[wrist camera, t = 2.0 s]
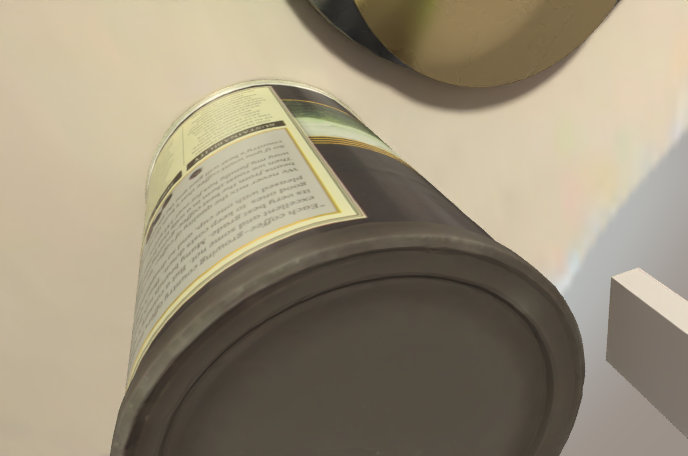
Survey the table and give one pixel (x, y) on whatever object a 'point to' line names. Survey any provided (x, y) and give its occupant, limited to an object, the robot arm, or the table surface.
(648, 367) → the robot arm
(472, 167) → the table surface
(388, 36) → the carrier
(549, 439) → the coffee can
